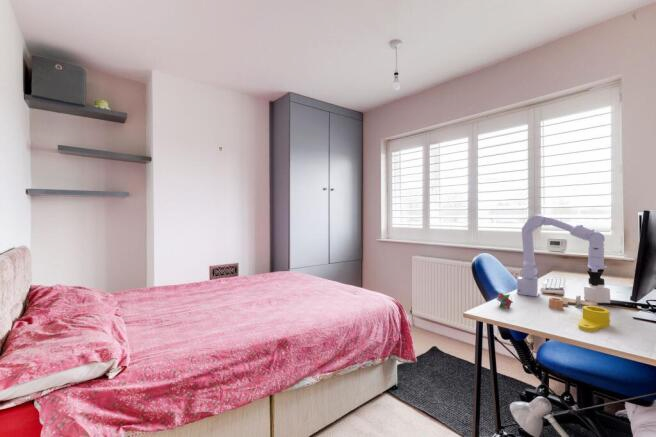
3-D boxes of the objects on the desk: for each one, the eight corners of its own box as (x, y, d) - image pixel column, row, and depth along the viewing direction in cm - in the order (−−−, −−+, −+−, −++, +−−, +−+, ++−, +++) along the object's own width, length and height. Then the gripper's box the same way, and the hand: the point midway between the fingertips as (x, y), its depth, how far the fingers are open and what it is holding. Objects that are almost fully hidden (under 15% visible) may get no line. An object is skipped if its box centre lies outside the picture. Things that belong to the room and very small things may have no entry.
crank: (586, 318, 132) (586, 304, 131) (612, 324, 125) (612, 309, 125) (570, 327, 122) (571, 312, 121) (597, 334, 115) (598, 319, 114)
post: (574, 307, 145) (574, 295, 145) (574, 305, 147) (574, 294, 147) (581, 308, 143) (582, 297, 143) (581, 307, 145) (582, 295, 145)
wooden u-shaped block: (559, 305, 148) (559, 302, 148) (561, 299, 157) (561, 297, 157) (597, 311, 139) (597, 309, 139) (597, 305, 148) (597, 302, 148)
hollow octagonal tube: (548, 307, 144) (548, 299, 144) (549, 305, 148) (550, 297, 148) (562, 310, 141) (562, 301, 141) (563, 307, 145) (563, 299, 145)
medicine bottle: (610, 303, 148) (609, 278, 149) (596, 303, 148) (595, 278, 149) (598, 300, 155) (597, 276, 156) (584, 300, 156) (583, 276, 156)
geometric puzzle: (519, 305, 142) (510, 289, 147) (509, 306, 140) (500, 290, 144) (508, 310, 148) (499, 294, 152) (498, 312, 145) (490, 296, 150)
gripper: (606, 259, 139) (605, 288, 140) (608, 255, 149) (607, 283, 150) (586, 258, 144) (585, 286, 145) (589, 254, 154) (588, 280, 155)
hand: (595, 284), depth 148 cm, fingers open, 6 cm apart
